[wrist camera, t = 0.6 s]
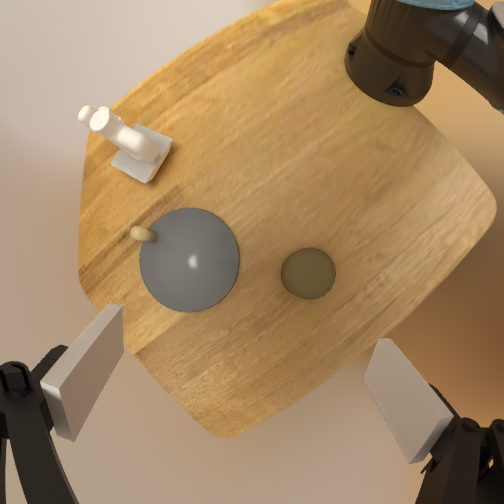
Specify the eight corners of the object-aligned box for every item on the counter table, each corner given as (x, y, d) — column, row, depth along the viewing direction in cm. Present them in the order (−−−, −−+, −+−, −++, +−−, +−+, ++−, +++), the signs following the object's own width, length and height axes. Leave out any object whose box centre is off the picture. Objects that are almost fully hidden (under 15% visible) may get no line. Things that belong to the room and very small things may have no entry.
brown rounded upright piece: (297, 305, 40) (302, 317, 29) (271, 266, 40) (267, 264, 29) (335, 279, 39) (354, 282, 28) (310, 241, 40) (320, 229, 29)
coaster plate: (198, 189, 42) (185, 176, 36) (260, 268, 40) (257, 267, 34) (126, 252, 42) (104, 249, 36) (181, 330, 41) (165, 339, 35)
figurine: (161, 193, 42) (108, 159, 28) (116, 169, 44) (59, 133, 29) (186, 151, 43) (146, 101, 28) (140, 130, 44) (92, 83, 29)
